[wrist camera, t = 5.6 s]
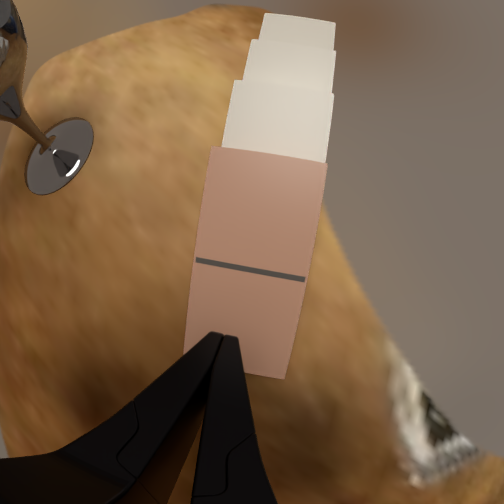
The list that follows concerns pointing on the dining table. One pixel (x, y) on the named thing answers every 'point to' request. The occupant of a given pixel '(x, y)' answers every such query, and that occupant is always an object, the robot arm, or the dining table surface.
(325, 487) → the dining table surface
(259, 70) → the domino
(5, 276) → the dining table surface
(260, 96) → the domino
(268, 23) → the domino
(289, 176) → the domino
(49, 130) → the wine glass
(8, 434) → the dining table surface
